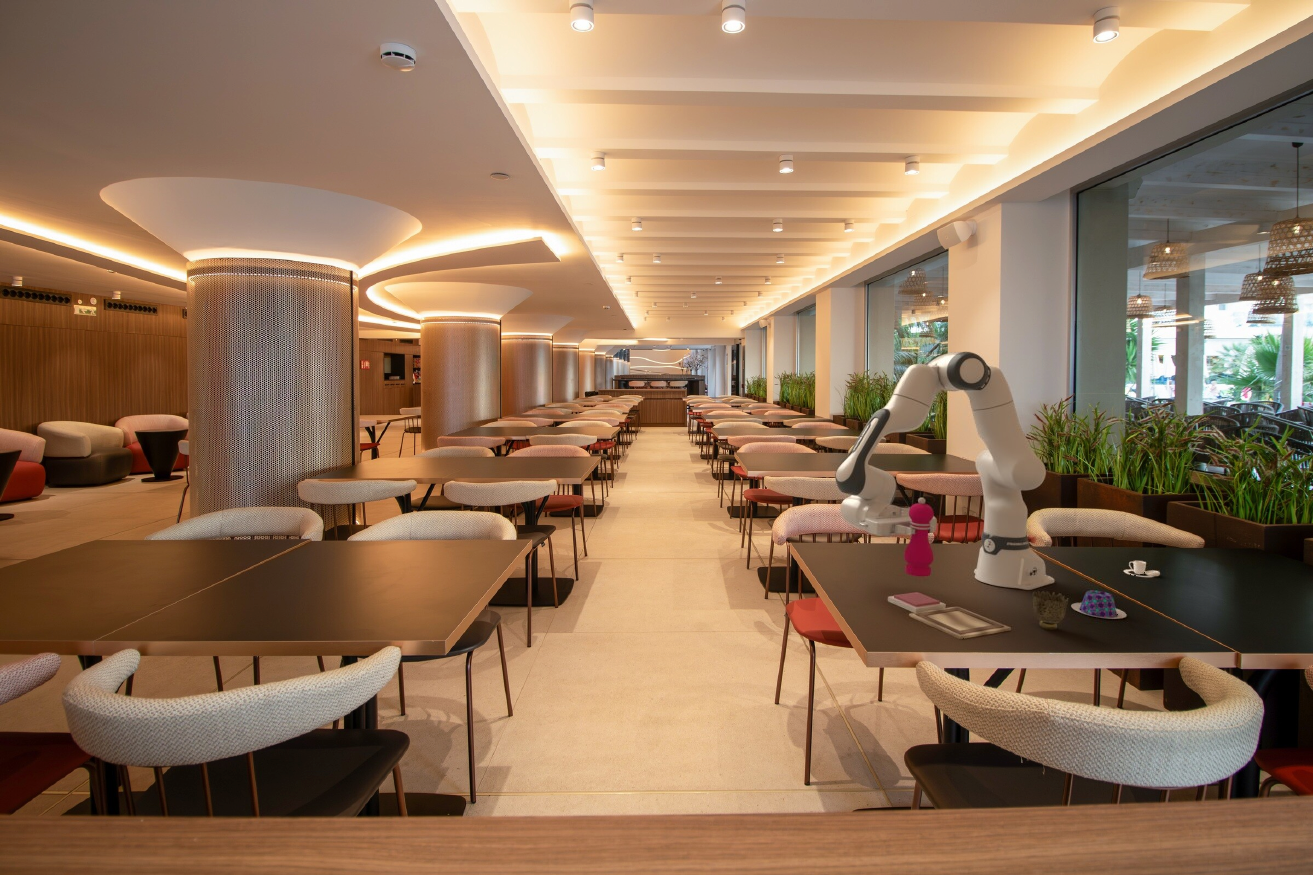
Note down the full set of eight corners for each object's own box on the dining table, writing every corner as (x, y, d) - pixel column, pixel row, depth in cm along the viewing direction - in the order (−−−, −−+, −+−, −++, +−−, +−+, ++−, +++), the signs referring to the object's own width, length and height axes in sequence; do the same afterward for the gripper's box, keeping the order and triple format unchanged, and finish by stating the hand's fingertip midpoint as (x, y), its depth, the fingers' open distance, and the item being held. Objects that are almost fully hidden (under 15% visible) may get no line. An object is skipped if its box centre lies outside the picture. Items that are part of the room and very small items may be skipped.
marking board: (957, 608, 177) (957, 605, 177) (1010, 630, 162) (1010, 627, 162) (909, 616, 171) (909, 613, 171) (959, 639, 156) (960, 635, 156)
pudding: (1098, 604, 184) (1100, 585, 183) (1138, 620, 172) (1140, 599, 171) (1060, 606, 181) (1061, 587, 181) (1097, 622, 170) (1099, 602, 169)
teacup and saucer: (1163, 577, 210) (1164, 564, 210) (1146, 580, 207) (1147, 567, 207) (1134, 570, 218) (1135, 557, 218) (1117, 572, 215) (1118, 559, 215)
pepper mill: (933, 571, 181) (937, 496, 179) (931, 578, 174) (936, 501, 172) (904, 567, 184) (908, 494, 182) (901, 575, 177) (905, 498, 175)
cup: (1071, 634, 160) (1073, 601, 159) (1036, 632, 162) (1038, 598, 161) (1059, 623, 167) (1061, 591, 167) (1026, 621, 169) (1028, 589, 168)
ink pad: (916, 597, 186) (917, 590, 186) (945, 608, 177) (945, 602, 177) (887, 601, 182) (888, 594, 182) (915, 613, 173) (915, 606, 173)
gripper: (855, 511, 185) (891, 521, 173) (914, 506, 193) (952, 516, 181) (854, 534, 186) (890, 546, 173) (913, 528, 194) (951, 539, 181)
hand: (922, 531), depth 177 cm, fingers closed on pepper mill, 5 cm apart
